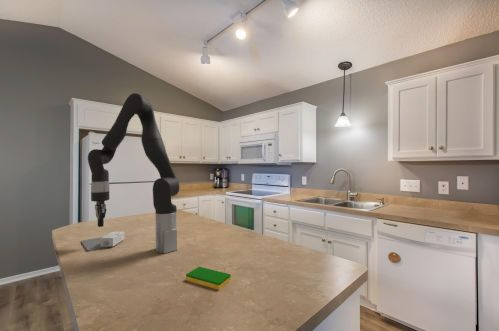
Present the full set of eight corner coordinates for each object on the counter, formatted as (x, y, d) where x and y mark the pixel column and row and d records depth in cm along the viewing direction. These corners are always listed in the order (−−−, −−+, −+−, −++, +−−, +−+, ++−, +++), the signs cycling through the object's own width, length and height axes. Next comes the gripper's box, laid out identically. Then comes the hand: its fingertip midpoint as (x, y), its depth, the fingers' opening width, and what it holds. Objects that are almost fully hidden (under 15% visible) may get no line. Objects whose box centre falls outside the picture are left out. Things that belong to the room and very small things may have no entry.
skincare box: (99, 238, 109) (112, 230, 122) (99, 247, 110) (112, 239, 122) (113, 237, 110) (124, 230, 122) (113, 247, 110) (124, 238, 122)
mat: (117, 245, 114) (117, 244, 114) (87, 251, 106) (87, 250, 106) (107, 236, 128) (107, 235, 128) (81, 241, 119) (81, 240, 119)
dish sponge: (199, 272, 85) (199, 266, 85) (231, 281, 78) (231, 274, 78) (185, 281, 79) (185, 274, 79) (219, 291, 72) (219, 283, 72)
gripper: (112, 191, 110) (112, 227, 110) (106, 189, 120) (106, 222, 120) (93, 192, 105) (94, 230, 105) (88, 190, 115) (88, 225, 115)
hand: (100, 226), depth 113 cm, fingers closed
